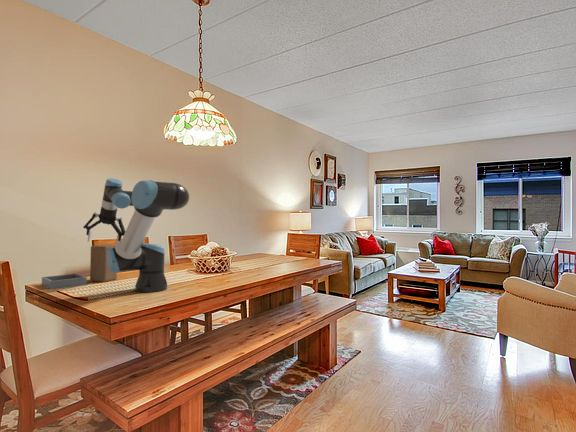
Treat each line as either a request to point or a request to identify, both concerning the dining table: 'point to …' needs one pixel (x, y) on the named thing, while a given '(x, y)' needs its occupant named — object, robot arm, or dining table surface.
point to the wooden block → (100, 264)
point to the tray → (64, 281)
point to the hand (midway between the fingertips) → (102, 243)
